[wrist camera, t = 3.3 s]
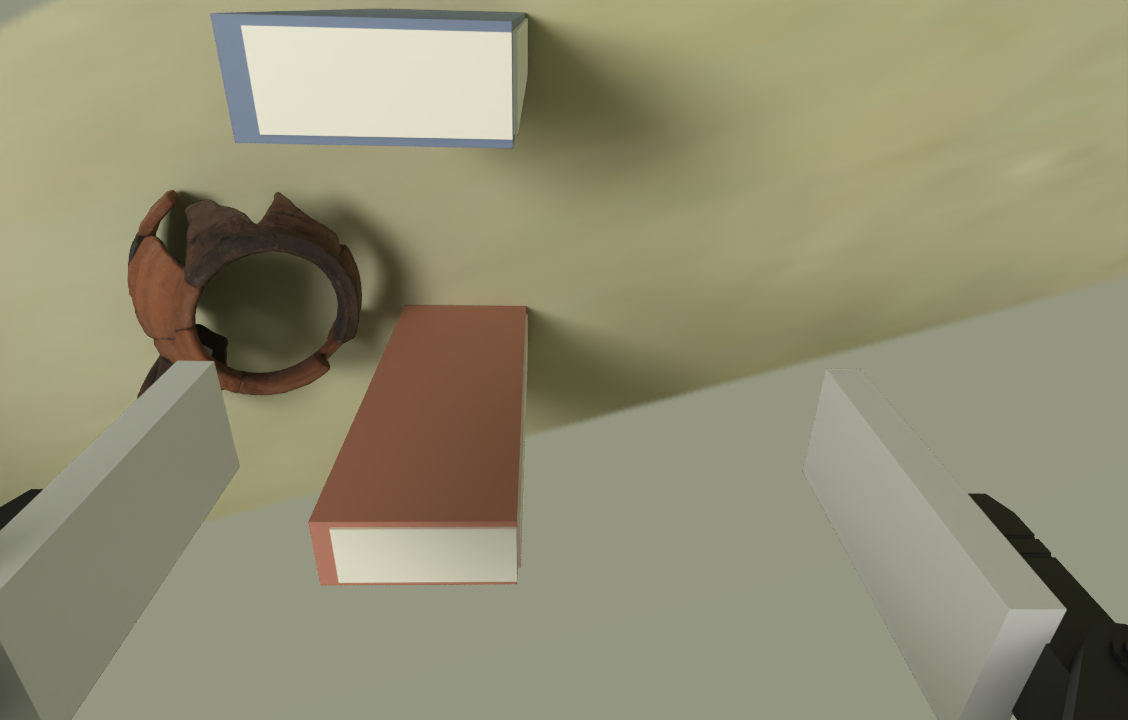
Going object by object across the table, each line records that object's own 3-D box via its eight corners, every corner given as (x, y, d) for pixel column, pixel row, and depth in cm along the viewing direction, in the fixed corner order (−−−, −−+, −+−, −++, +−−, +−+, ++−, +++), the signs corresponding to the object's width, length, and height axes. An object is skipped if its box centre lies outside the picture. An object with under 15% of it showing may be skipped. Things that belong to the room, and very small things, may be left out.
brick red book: (409, 349, 35) (319, 587, 21) (405, 304, 34) (307, 524, 20) (527, 350, 35) (520, 586, 21) (527, 306, 34) (520, 523, 20)
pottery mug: (173, 118, 29) (200, 171, 24) (363, 212, 36) (421, 272, 30) (62, 349, 31) (62, 450, 26) (261, 399, 38) (297, 489, 32)
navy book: (384, 74, 29) (233, 143, 15) (378, 8, 28) (207, 13, 13) (528, 78, 29) (517, 148, 15) (527, 12, 28) (516, 21, 14)
